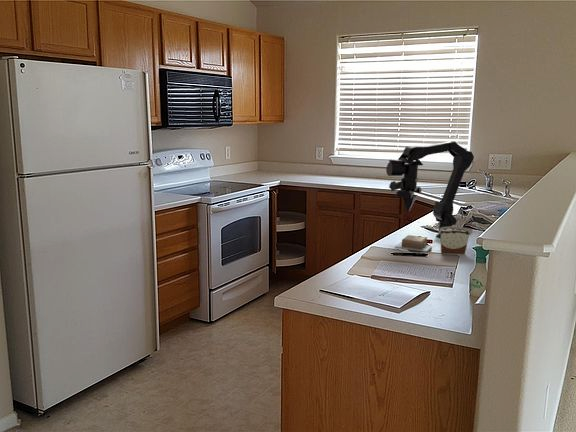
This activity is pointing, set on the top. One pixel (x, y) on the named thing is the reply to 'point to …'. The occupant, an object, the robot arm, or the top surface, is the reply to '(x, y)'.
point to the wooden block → (414, 242)
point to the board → (414, 249)
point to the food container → (454, 240)
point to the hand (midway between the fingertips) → (407, 211)
